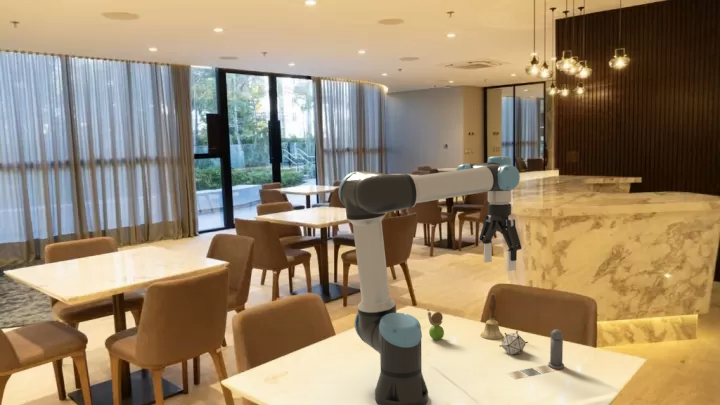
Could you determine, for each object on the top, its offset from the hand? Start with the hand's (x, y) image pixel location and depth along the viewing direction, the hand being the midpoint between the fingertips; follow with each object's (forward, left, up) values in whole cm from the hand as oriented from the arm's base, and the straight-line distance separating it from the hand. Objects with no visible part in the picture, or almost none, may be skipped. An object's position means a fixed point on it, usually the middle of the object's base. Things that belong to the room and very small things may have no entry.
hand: (499, 266), depth 181 cm
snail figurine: (-13, +21, -31) cm, 40 cm away
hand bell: (+8, +16, -31) cm, 36 cm away
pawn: (+9, -18, -30) cm, 36 cm away
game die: (+4, -3, -31) cm, 31 cm away
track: (+1, -18, -31) cm, 36 cm away
